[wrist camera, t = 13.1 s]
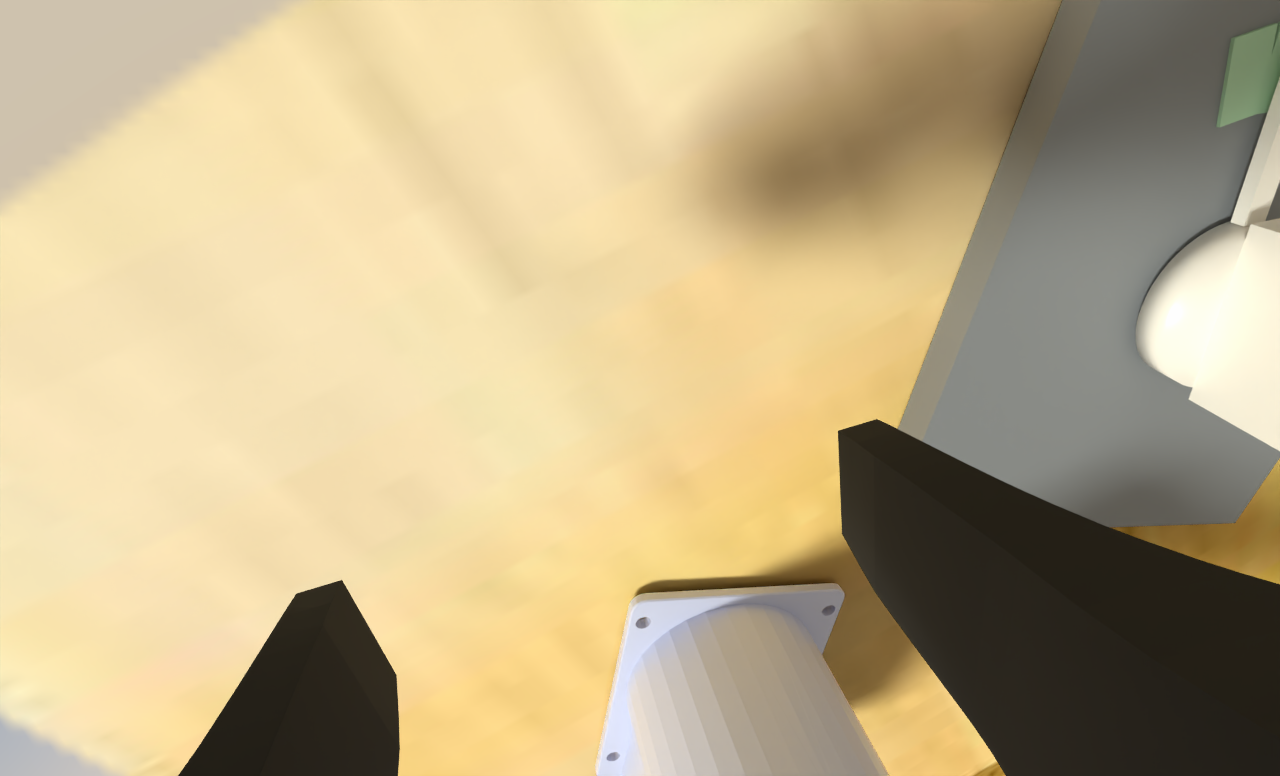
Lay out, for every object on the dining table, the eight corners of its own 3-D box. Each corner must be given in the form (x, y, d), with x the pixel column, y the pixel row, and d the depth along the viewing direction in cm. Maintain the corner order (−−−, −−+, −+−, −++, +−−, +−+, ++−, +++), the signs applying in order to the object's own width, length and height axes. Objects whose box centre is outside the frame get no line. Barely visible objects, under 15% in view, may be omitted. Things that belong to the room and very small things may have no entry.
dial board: (1207, 504, 29) (1237, 524, 28) (866, 511, 25) (885, 536, 24) (1528, 13, 21) (1587, 15, 20) (1104, -109, 17) (1151, -115, 16)
